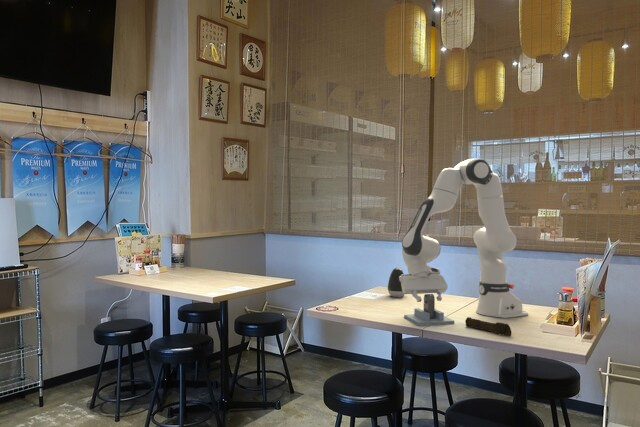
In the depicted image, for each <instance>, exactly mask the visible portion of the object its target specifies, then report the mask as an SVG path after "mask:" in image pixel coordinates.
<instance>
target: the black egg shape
mask: <svg viewBox="0 0 640 427" xmlns="http://www.w3.org/2000/svg"><path fill="white" fill-rule="evenodd" d="M402 274H404V275H405V273H404V271H403V270H402V269H401V268H400V267H395V268H393V269H392V271H391V273H390V276H389V277H388V278H389V279H388V281H387V282H388V283H387V288H386V290H387V292H388V294H389V295H390V297H394V298H402V297H404V296H405V295H406V294H404V293H403V291H402V287H401V282H400V280H399V276H401V275H402Z"/></svg>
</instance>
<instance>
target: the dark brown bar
mask: <svg viewBox="0 0 640 427" xmlns="http://www.w3.org/2000/svg"><path fill="white" fill-rule="evenodd" d="M464 322H465V326H466V327H469V328H475V329H479V330H484V331H489V332H493V333H495V335H499V334H500V335H499V336H504V337H511V336H512V328H511V327H510V325H509V324H508V323H505V322H498V321H497V322H495V323H494V322H489V321H484V320H480V319H478V318H476V319H475V318H473V317H471V316H470V317H469V316H468V317H466V319H465V321H464Z"/></svg>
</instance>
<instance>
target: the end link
mask: <svg viewBox="0 0 640 427" xmlns="http://www.w3.org/2000/svg"><path fill="white" fill-rule="evenodd" d="M435 302H436V301H435V295H434V293H424V295H423V311H425V312H427V313H429V314H430V319H434V311H435V309H436V308H435V305H436V304H435Z"/></svg>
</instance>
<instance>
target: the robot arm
mask: <svg viewBox="0 0 640 427" xmlns="http://www.w3.org/2000/svg"><path fill="white" fill-rule="evenodd" d="M500 179H501V178H500V177H499V175H498V174H497V173H495V172H493V171H492V169H491V166H490V164H489V163H488V162H487V160H484V159H483V158H469V159H466V160H464V161H459V162H457V163H455V165H454V166H453V167H448V168H447V167H446V168H443V169H442V170H441V171H440V173H439V174H438V176H437V179H436V180H435V182H434V185H433V187H432V188H433V189H432V191H431V194H430V195H429V196H428V197H427V198H426V199H424V200H423V201H422V203H421V205H420V206H419V208H418V210H417V212H416V214H415V216H414V218H413V220H412V223H411V224H410V226H409V229H408V230H407V232H406V233H405V234H404V236H403V238H402V241H401V246H402V248H401V249H402V250H401V253H402V254H401V255H402V258H403V263H404V265H405V266H406V268H407V273H406V274H405V273H404V274H402V275H401V276H399V280H400V282H401V287H402V291H403V293H404V294H405V295H412V297H413V298H414V299H415V300H416V302H417V303H421V302H422V297H421V296H419V295H420V294H424V295H425V294H436V295H437V296H436V301H437V302H441V301H442V300H443V297H442V294H444V293H446V291H447V290H448V287H449V286H448V283H447V281H446V278H445V277H444V275H443V274H441V270H440V268H437V267H432V266H429V265H427V264H428V263H431V262H432V261H434V260H435V259H436V258H438V257H439V256H440V254H441V244H440V242H439V241H438V240H437V239H434V238H432V237H429V236H425V235H423V232H424V230H425V228H426V226H427V223H428V221H429V219H430V218H431V217H432V216H433V215H435V214H439V213H446V212H448V211H450V210H452V209H453V208H454V206H455V205H456V202H457V199H458V197H459V193H460V190H461V188H462V186H463V185H473V186H474V187H475V190H476V200H477V210H478V216H479V218H480V219H481V221H482V223H483V226H484V227H481V228H478V229H477V230H475V232H474V234H473V243H474V244H475V246H476V248H477V253H478V258H479V262H480V264H479V265H480V275H479V276H480V277H479V278H480V280H479V283H478V284H479V285H478V286H479V287H478V291H479V295H478V296H479V297H478V302H477V307H476V309H475V310H476V311H475V312H476V313H477V314H480V315H483V316H487V317H495V318H496V317H497V318H503V319H507V318H515V317H517V318H518V317H523V316H528V315H529V312H528V311H526V310H524V309H523V303H522V300H520V299H519V297H517V296H516V295H515V294H513V293H512V291H511V290H513V289H514V288H515V284H512V283H507V264H506V263H505V260H504V258H503V254H506V253H510V252H512V251H513V250H514V249H515V248H516V246H517V237H516V235H515V234H514V233H513V231H512V229H511V227H510V224H509V222H508V219H507V216H506V211H505V203H504V201H505V200H504V195H503V194H504V193H503V187H502V184H501V180H500ZM510 289H511V290H510ZM418 294H419V295H418Z"/></svg>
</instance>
